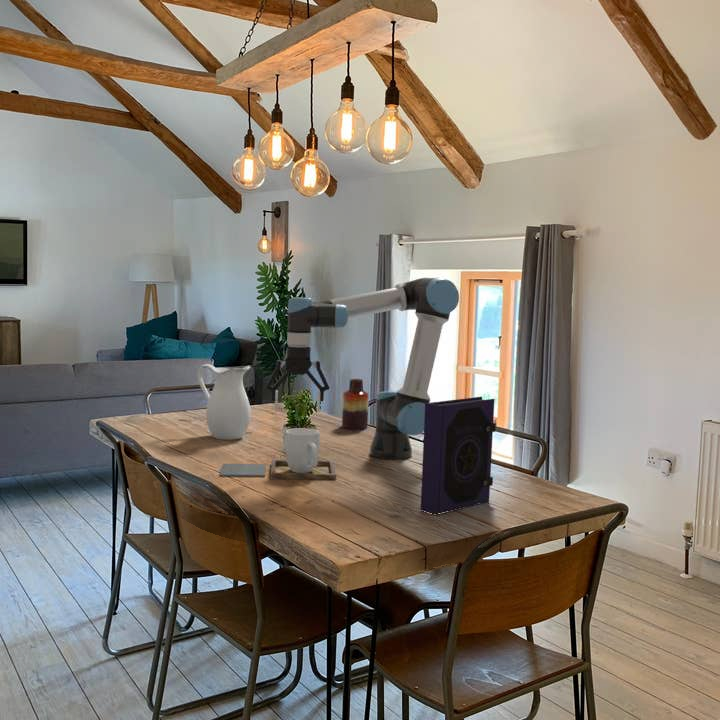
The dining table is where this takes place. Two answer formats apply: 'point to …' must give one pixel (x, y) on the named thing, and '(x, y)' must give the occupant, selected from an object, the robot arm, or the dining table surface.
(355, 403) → the vase
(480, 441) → the book
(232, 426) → the pitcher
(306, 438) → the mug
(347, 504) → the dining table surface
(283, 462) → the frame
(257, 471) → the slate trivet
